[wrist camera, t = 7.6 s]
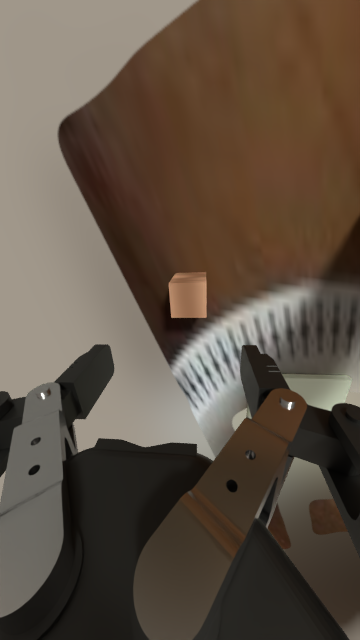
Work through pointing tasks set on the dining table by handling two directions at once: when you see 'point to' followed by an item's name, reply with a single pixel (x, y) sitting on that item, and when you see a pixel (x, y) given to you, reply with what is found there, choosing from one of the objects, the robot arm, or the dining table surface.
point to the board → (318, 389)
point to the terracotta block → (188, 295)
